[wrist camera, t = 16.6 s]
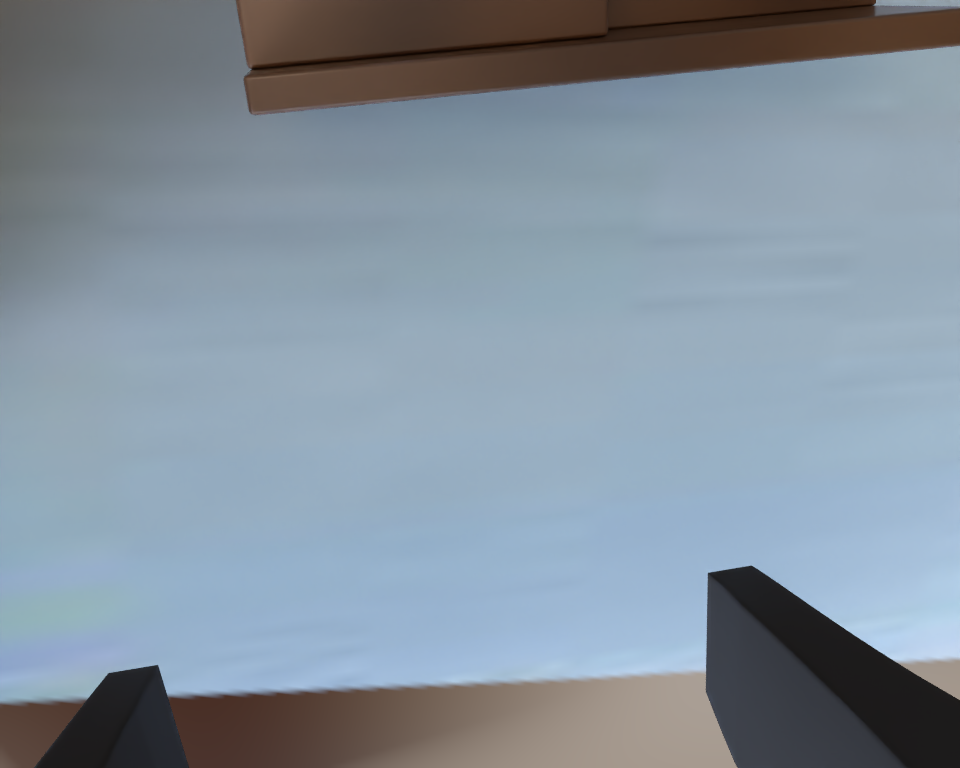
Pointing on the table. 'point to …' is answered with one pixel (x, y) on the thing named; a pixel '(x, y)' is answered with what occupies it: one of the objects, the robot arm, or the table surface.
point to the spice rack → (546, 43)
